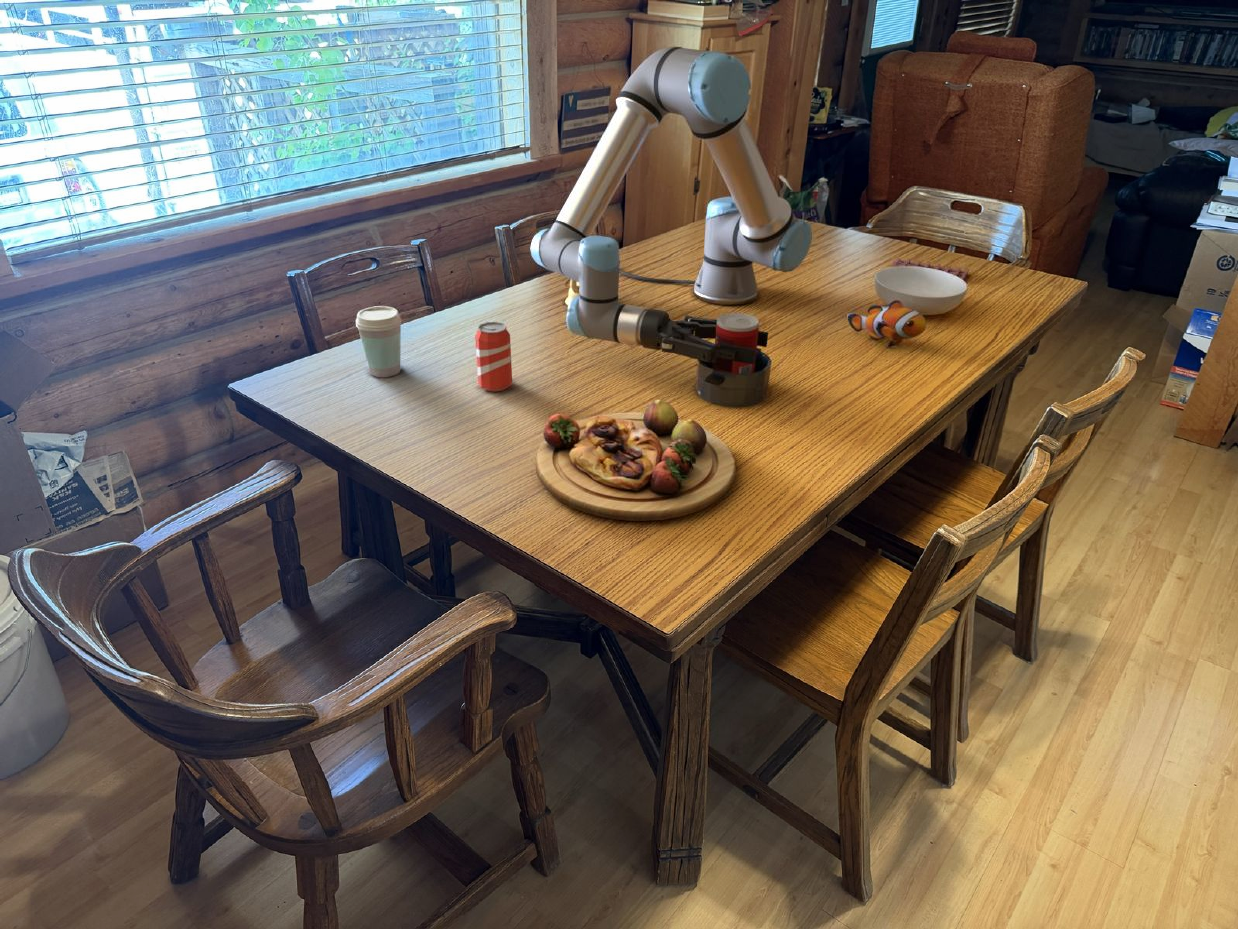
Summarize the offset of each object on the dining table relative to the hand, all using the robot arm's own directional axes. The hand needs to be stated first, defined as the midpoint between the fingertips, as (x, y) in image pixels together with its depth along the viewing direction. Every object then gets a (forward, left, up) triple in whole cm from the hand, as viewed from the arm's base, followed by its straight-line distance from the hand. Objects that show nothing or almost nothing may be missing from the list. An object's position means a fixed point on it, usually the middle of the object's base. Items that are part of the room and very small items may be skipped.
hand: (761, 348), depth 160 cm
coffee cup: (-65, -32, -10) cm, 73 cm away
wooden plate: (-5, -36, -10) cm, 37 cm away
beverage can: (-43, -25, -10) cm, 50 cm away
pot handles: (-5, -1, -5) cm, 7 cm away
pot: (-5, -1, -10) cm, 11 cm away
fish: (+11, +39, -10) cm, 42 cm away
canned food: (-5, -1, -7) cm, 8 cm away
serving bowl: (+11, +64, -10) cm, 66 cm away
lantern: (-55, +22, -10) cm, 60 cm away
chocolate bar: (+6, +92, -10) cm, 93 cm away
